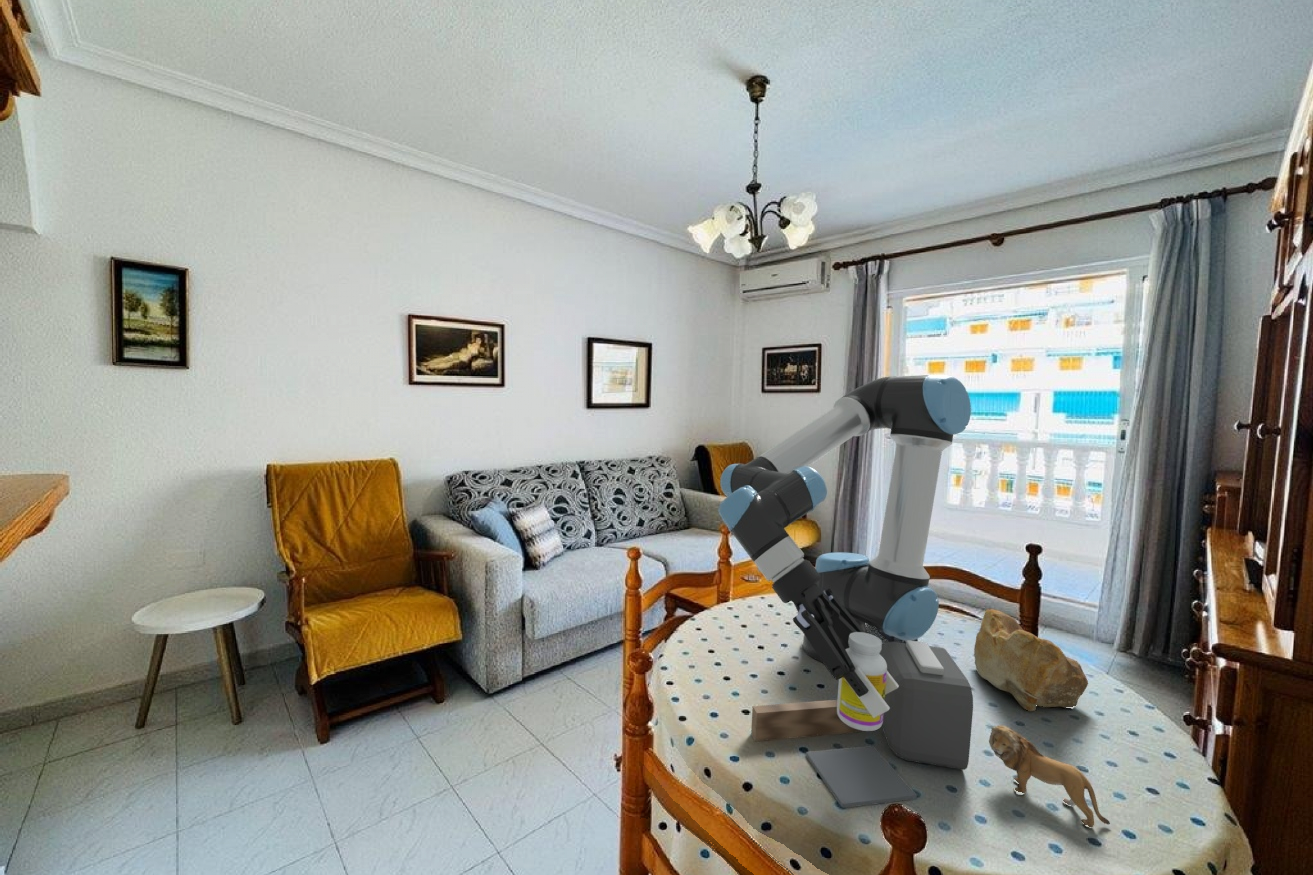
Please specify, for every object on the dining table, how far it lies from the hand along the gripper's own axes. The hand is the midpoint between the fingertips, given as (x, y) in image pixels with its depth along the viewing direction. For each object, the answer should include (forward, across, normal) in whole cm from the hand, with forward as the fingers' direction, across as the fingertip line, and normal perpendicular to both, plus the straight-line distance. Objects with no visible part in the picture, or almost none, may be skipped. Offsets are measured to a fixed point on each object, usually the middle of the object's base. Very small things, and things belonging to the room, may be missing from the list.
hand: (886, 700), depth 77 cm
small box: (+3, -60, -16) cm, 62 cm away
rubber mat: (+7, 0, -12) cm, 14 cm away
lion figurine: (+24, -12, +4) cm, 27 cm away
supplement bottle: (+1, 0, -6) cm, 6 cm away
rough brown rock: (+24, -46, +5) cm, 52 cm away
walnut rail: (0, -6, -19) cm, 20 cm away
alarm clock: (+11, -16, -8) cm, 21 cm away
